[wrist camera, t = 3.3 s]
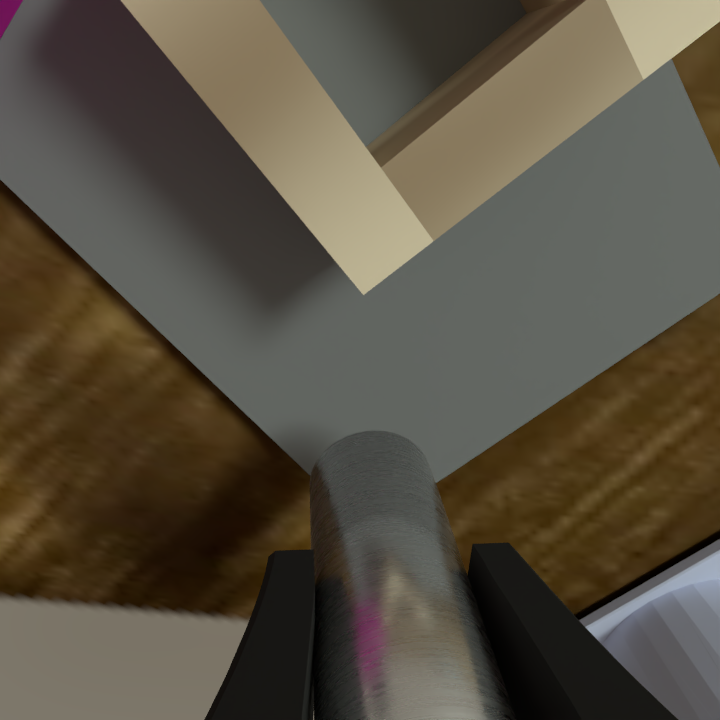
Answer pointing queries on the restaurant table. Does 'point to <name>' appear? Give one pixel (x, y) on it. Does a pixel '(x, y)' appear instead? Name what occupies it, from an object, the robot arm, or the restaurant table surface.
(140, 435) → the restaurant table surface
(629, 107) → the charcoal mat
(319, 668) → the metal pin
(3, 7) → the toy block
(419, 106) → the birch square frame
